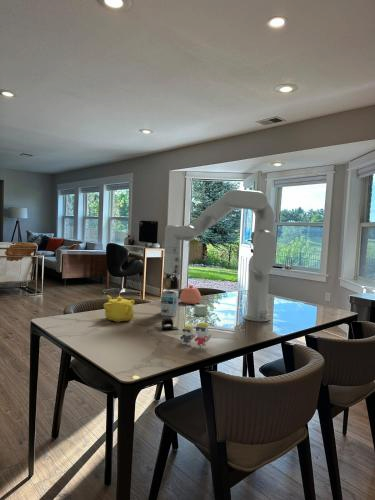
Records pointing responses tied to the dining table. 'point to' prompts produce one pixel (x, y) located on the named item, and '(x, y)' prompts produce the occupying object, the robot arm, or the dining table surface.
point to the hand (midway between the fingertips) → (170, 287)
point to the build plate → (166, 328)
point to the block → (169, 284)
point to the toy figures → (201, 335)
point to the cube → (200, 310)
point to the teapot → (119, 309)
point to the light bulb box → (169, 303)
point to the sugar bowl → (190, 295)
